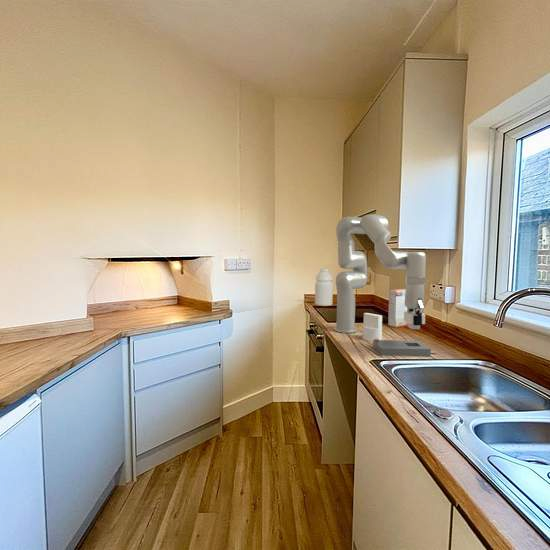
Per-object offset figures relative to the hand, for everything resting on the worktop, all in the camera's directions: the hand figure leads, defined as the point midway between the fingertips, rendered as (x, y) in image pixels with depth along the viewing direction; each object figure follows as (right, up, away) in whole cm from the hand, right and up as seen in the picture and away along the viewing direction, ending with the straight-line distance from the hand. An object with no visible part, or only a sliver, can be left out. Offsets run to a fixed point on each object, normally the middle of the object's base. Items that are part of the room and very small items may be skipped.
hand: (414, 323), depth 143 cm
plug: (0, -2, 0) cm, 2 cm away
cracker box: (+13, -9, +50) cm, 53 cm away
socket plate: (-5, -12, +1) cm, 13 cm away
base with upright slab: (-12, -11, +21) cm, 26 cm away
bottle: (-21, -3, +121) cm, 123 cm away
